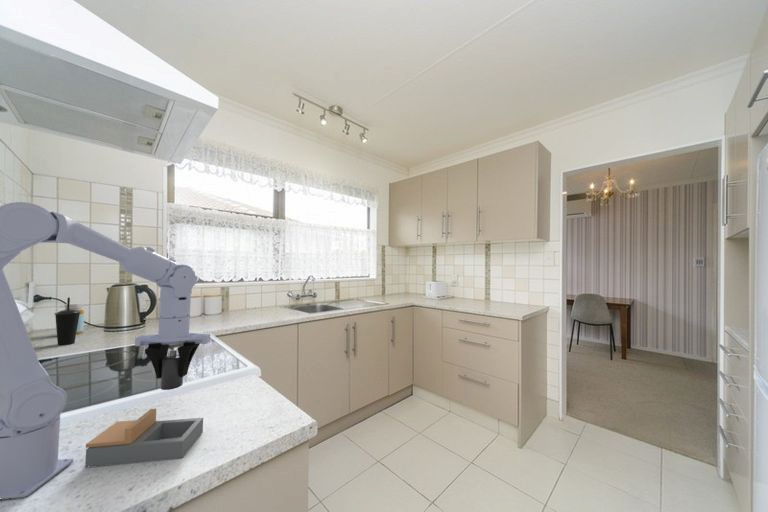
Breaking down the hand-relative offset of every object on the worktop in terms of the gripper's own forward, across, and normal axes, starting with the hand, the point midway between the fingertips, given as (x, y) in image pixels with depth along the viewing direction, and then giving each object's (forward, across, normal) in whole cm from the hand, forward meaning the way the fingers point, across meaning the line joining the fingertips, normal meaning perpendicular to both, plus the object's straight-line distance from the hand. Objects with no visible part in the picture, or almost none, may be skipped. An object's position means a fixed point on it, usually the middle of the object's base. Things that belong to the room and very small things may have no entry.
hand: (172, 376), depth 64 cm
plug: (+2, 0, 0) cm, 2 cm away
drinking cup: (+10, +77, -73) cm, 107 cm away
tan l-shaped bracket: (+6, +2, +11) cm, 13 cm away
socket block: (+9, -2, +11) cm, 15 cm away
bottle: (+10, +90, -93) cm, 130 cm away
